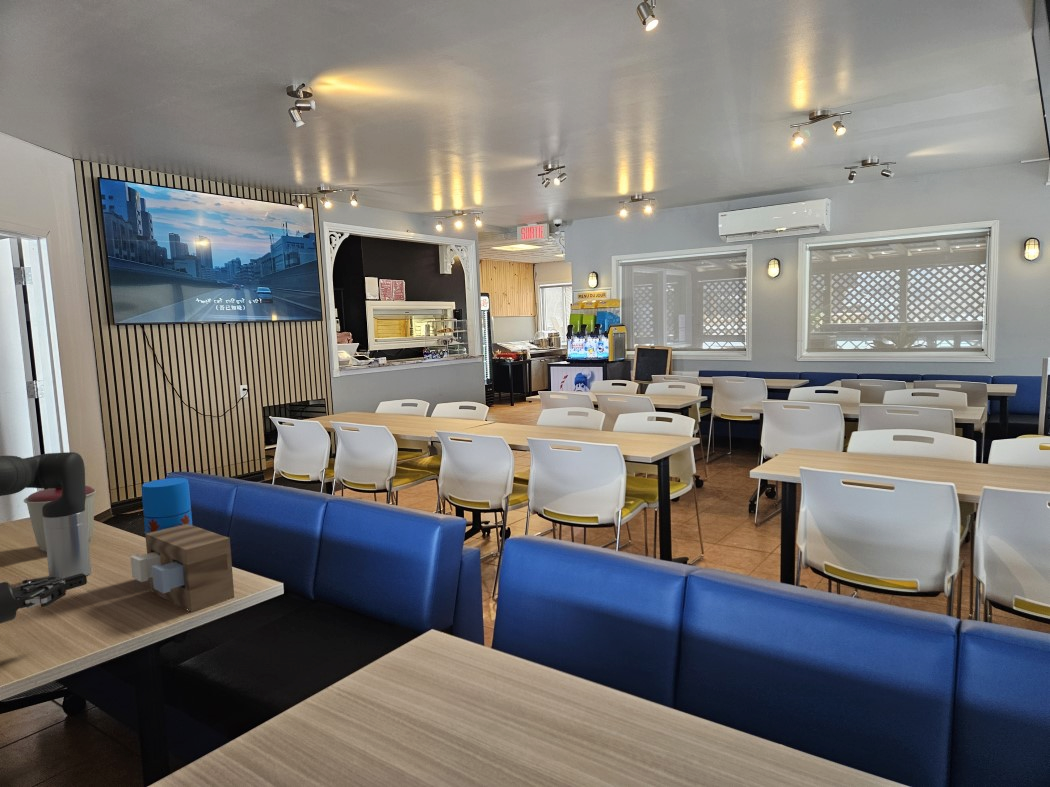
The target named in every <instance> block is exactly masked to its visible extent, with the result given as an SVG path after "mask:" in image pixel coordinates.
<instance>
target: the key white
mask: <svg viewBox="0 0 1050 787" xmlns="http://www.w3.org/2000/svg"><path fill="white" fill-rule="evenodd" d="M158 564H159V565H161V558H160V553H158V552H152V553H148V554H147V553H144V554H142V555H139V554H134V555H131V556H130V567H131V576H132V578H133V579H135V580H136V581H138V582H140V583H143V582H146V581H149V578H150V577H153V575H152V566H154V565H158Z"/></svg>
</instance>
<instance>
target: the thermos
mask: <svg viewBox="0 0 1050 787" xmlns="http://www.w3.org/2000/svg"><path fill="white" fill-rule="evenodd" d="M190 492H191V491H190V485H189V480H188V478H184V477H171V478H164V479H163V478H162V479H155V480H151V481H148V482H144V483H143V484H142V486H141V499H142V509H143V510H142V511H143V521H144V532H145V534H146V533H150V532H155V531H159V530H163V529H167V528H171V527H175V526H179V525H183V524H190V525H193V517H192V516H193V515H192V507H191V506H192V504H191V496H190V495H191V494H190Z"/></svg>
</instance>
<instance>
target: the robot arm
mask: <svg viewBox="0 0 1050 787" xmlns="http://www.w3.org/2000/svg"><path fill="white" fill-rule="evenodd" d="M85 486H86V468H85V463H84V459H83V457H82V455H81V454H79V453H78V452H74V451H73V452H69V451H68V452H50V453H42V454H37V455H34V456H29V457H25V458H23V457H20V456H16V455H0V497H4V496H11V495H14V494H17V493H20V492H22V491H24V490H25V489H30V488H31V489H42V490H45V489H51V488H62V495H61V497H60V498H58V499H56V500H54V501H51V502H48V503H46V504H45V505H43V507H42V514H43V523H44V532H45V541H46V550H47V552H46V558H47V568H48V569H47V570H48V577H39V578H29V579H24V580H22V581H21V584H20V585H18V586H15V587H12V586H11V584H10V583H9V582H7V581H2V582H0V624H4V623H7V622H9V621H12V620H14V619H15V618H16V617H17V611H19V609H24V608H27V609H29V608H33V607H36V606H38V605H39V604H40V607H41V608H45V607H48V606H50V605H51V604H53V603H54V602H56V601H57V600H59V599H61V598H63V597H64V596H66V594H67V593H66V592H67V591H69V590H72V589H75V588H79V587H82V586H85V585H87V583H88V578H87V576H89V575H90V574H91V573H92V564H91V552H90V542H89V541H88V531H87V521H86V512H85V500H86V488H85Z"/></svg>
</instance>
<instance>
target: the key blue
mask: <svg viewBox="0 0 1050 787" xmlns="http://www.w3.org/2000/svg"><path fill="white" fill-rule="evenodd" d="M152 575H153V586H154V589H156V590H158V591H160V592H162V593H167V592H170V591H171V589H173V588H176V587H179V586H182V585H185V581H184V570H183V563H182V562H179V561H175V562H172V563H168V564H165V565H159V564H158V565H154V566H152Z"/></svg>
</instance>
